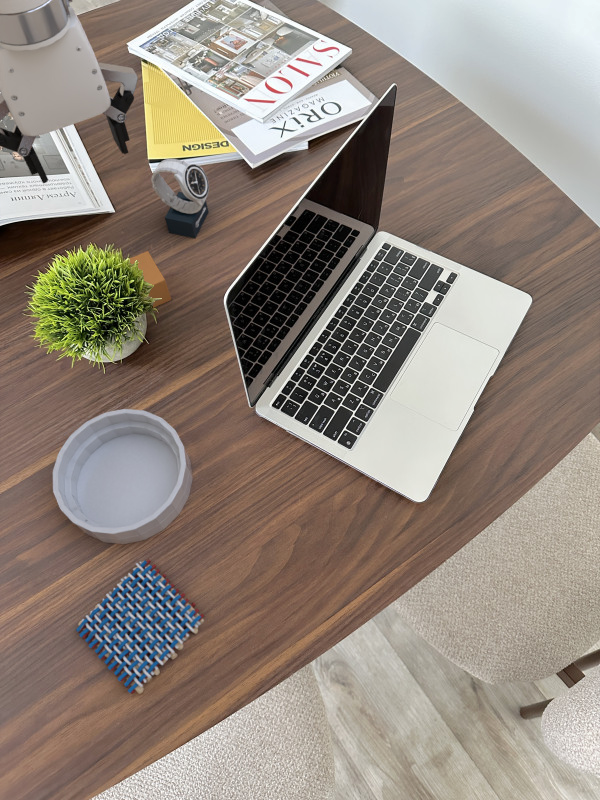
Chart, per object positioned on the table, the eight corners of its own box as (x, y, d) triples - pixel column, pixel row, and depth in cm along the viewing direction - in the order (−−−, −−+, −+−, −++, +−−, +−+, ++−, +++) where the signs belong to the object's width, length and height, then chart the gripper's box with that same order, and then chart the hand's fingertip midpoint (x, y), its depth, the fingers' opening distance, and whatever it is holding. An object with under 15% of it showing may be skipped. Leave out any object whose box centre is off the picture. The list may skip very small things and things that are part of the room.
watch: (207, 241, 94) (194, 184, 85) (158, 230, 96) (140, 173, 86) (220, 214, 97) (209, 156, 87) (172, 204, 98) (156, 146, 88)
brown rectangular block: (152, 308, 89) (144, 288, 85) (132, 272, 92) (123, 251, 88) (171, 299, 89) (165, 279, 85) (150, 264, 93) (143, 243, 89)
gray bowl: (94, 569, 72) (79, 558, 67) (51, 462, 78) (35, 446, 74) (213, 505, 75) (207, 491, 71) (162, 407, 81) (154, 388, 77)
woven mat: (211, 620, 69) (208, 617, 67) (137, 699, 65) (132, 698, 64) (148, 556, 72) (144, 552, 71) (75, 628, 69) (69, 625, 67)
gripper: (99, -35, 61) (140, 117, 76) (-80, 17, 58) (0, 166, 73) (127, 5, 58) (163, 155, 73) (-61, 62, 54) (19, 208, 70)
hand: (82, 160), depth 73 cm, fingers open, 9 cm apart
